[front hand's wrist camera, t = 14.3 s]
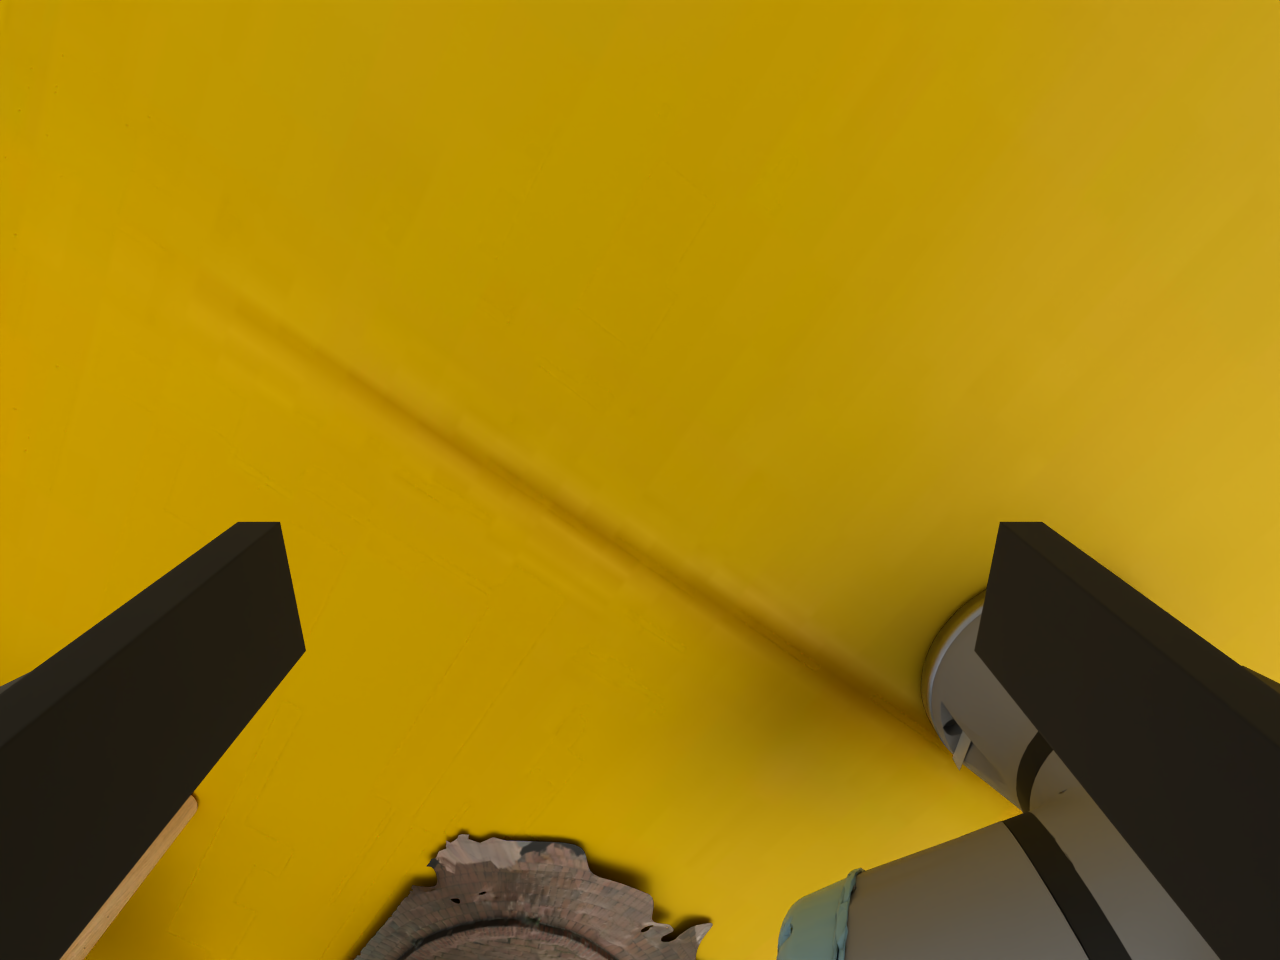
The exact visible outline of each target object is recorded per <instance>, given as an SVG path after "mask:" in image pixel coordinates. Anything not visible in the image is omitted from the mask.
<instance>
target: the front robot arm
mask: <svg viewBox="0 0 1280 960" xmlns="http://www.w3.org/2000/svg"><path fill="white" fill-rule="evenodd" d="M305 651H306V649H305V644H304V639H303V634H302V629H301V624H300V619H299V614H298V609H297V604H296V599H295V594H294V589H293V584H292V579H291V574H290V569H289V564H288V559H287V554H286V549H285V544H284V540H283V535H282V530H281V525H280V522H237V523H236V524H234V525H233V526H232V527H230V528H229V529H228V530H226V531H225V532H223V533H222V534H221V535H219V536H218V537H216V538H215V539H214V540H212V541H211V542H210V543H208V544H207V545H205V546H204V547H203V548H201V549H200V550H199V551H197V552H196V553H194V554H193V555H192V556H190V557H189V558H187V559H186V560H185V561H183V562H182V563H181V564H179V565H178V566H176V567H175V568H174V569H172V570H171V571H169V572H168V573H167V574H165V575H164V576H163V577H161V578H160V579H158V580H157V581H156V582H154V583H153V584H151V585H150V586H149V587H147V588H146V589H145V590H143V591H142V592H140V593H139V594H138V595H136V596H135V597H134V598H132V599H131V600H129V601H128V602H127V603H125V604H124V605H122V606H121V607H120V608H118V609H117V610H116V611H114V612H113V613H111V614H110V615H109V616H107V617H106V618H104V619H103V620H102V621H100V622H99V623H98V624H96V625H95V626H93V627H92V628H91V629H89V630H88V631H86V632H85V633H84V634H82V635H81V636H80V637H78V638H77V639H75V640H74V641H73V642H71V643H70V644H69V645H67V646H66V647H64V648H63V649H62V650H60V651H59V652H57V653H56V654H55V655H53V656H52V657H51V658H49V659H48V660H46V661H45V662H44V663H42V664H41V665H39V666H38V667H37V668H35V669H34V670H33V671H31V672H29V673H27V674H25V675H23V676H21V677H19V678H17V679H15V680H13V681H11V682H9V683H7V684H5V685H3V686H1V687H0V960H60V959H61V957H62V956H63V955H64V954H65V952H66V951H67V950H68V949H69V947H70V946H71V945H72V944H73V942H74V941H75V940H76V939H77V937H78V936H79V935H80V934H81V932H82V931H83V930H84V929H85V927H86V926H87V925H88V923H89V922H90V921H91V920H92V918H93V917H94V916H95V915H96V913H97V912H98V911H99V910H100V908H101V907H102V906H103V905H104V903H105V902H106V901H107V900H108V898H109V897H110V896H111V895H112V893H113V892H114V891H115V890H116V888H117V887H118V886H119V885H120V883H121V882H122V881H123V880H124V878H125V877H126V876H127V875H128V873H129V872H130V871H131V870H132V868H133V867H134V866H135V865H136V863H137V862H138V861H139V859H140V858H141V857H142V856H143V854H144V853H145V852H146V851H147V849H148V848H149V847H150V846H151V844H152V843H153V842H154V841H155V839H156V838H157V837H158V836H159V834H160V833H161V832H162V831H163V829H164V828H165V827H166V826H167V824H168V823H169V822H170V821H171V819H172V818H173V817H174V816H175V814H176V813H177V812H178V811H179V809H180V808H181V807H182V806H183V804H184V803H185V802H186V800H187V799H188V798H189V797H190V795H191V794H192V793H193V792H194V790H195V789H196V788H197V787H198V785H199V784H200V783H201V782H202V780H203V779H204V778H205V777H206V775H207V774H208V773H209V772H210V770H211V769H212V768H213V767H214V765H215V764H216V763H217V762H218V760H219V759H220V758H221V757H222V755H223V754H224V753H225V752H226V750H227V749H228V748H229V747H230V745H231V744H232V743H233V741H234V740H235V739H236V738H237V736H238V735H239V734H240V733H241V731H242V730H243V729H244V728H245V726H246V725H247V724H248V723H249V721H250V720H251V719H252V718H253V716H254V715H255V714H256V713H257V711H258V710H259V709H260V708H261V706H262V705H263V704H264V703H265V701H266V700H267V699H268V698H269V696H270V695H271V694H272V693H273V691H274V690H275V689H276V688H277V686H278V685H279V684H280V682H281V681H282V680H283V679H284V677H285V676H286V675H287V674H288V672H289V671H290V670H291V669H292V667H293V666H294V665H295V664H296V662H297V661H298V660H299V659H300V657H301V656H302V655H303V654H304V652H305ZM921 694H922V700H923V705H924V708H925V711H926V714H927V716H928V718H929V720H930V722H931V724H932V725H933V727H934V729H935V731H936V732H937V734H938V736H939V737H940V739H941V740H942V742H943V743H944V745H945V746H946V747H947V748H948V749H949V751H950V752H951V753H952V754H953V758H952V759H953V760H954V762H955V764H956V765H957V767H958V769H959V770H960V769H961V766H962V764H964V765H965V766H966V767H967V768H969V769H970V770H971V771H972V772H974V773H975V774H976V775H978V776H979V777H980V778H981V779H983V780H984V781H985V782H986V783H988V784H989V785H990V786H991V787H993V788H994V789H995V790H996V791H998V792H999V793H1000V794H1001V795H1003V796H1004V797H1005V798H1007V799H1008V800H1009V801H1010V802H1012V803H1013V804H1014V805H1015V806H1017V807H1018V808H1019V809H1020V810H1021V811H1022V812H1023V814H1020V815H1018V816H1015V817H1012V818H1009V819H1007V820H1004V821H1000V822H997V823H995V824H992V825H989V826H987V827H984V828H982V829H979V830H976V831H974V832H971V833H969V834H966V835H964V836H961V837H958V838H956V839H953V840H950V841H947V842H945V843H942V844H939V845H936V846H933V847H931V848H928V849H925V850H922V851H920V852H917V853H914V854H911V855H908V856H906V857H903V858H900V859H897V860H895V861H892V862H889V863H886V864H883V865H881V866H878V867H875V868H872V869H869V870H867V871H865V870H863V869H862V868H859V869H855V870H853V871H851V872H850V873H849V874H848V876H847V878H845V879H843V880H841V881H838V882H836V883H834V884H832V885H829V886H827V887H825V888H823V889H820V890H818V891H816V892H814V893H811V894H809V895H807V896H804V897H802V898H801V899H799V900H798V901H797V902H796V903H794V904H793V905H792V907H791V908H790V909H789V911H788V913H787V915H786V916H785V918H784V920H783V923H782V926H781V930H780V934H779V940H778V955H777V960H1280V684H1279V683H1277V682H1275V681H1273V680H1271V679H1269V678H1267V677H1265V676H1263V675H1261V674H1259V673H1257V672H1255V671H1253V670H1251V669H1249V668H1247V667H1244V666H1241V665H1239V664H1238V663H1236V662H1235V661H1234V660H1232V659H1231V658H1229V657H1228V656H1227V655H1225V654H1224V653H1223V652H1221V651H1220V650H1218V649H1217V648H1216V647H1214V646H1213V645H1211V644H1210V643H1209V642H1207V641H1206V640H1205V639H1203V638H1202V637H1200V636H1199V635H1198V634H1196V633H1195V632H1194V631H1192V630H1191V629H1189V628H1188V627H1187V626H1185V625H1184V624H1182V623H1181V622H1180V621H1178V620H1177V619H1176V618H1174V617H1173V616H1171V615H1170V614H1169V613H1167V612H1166V611H1164V610H1163V609H1162V608H1160V607H1159V606H1158V605H1156V604H1155V603H1153V602H1152V601H1151V600H1149V599H1148V598H1146V597H1145V596H1144V595H1142V594H1141V593H1140V592H1138V591H1137V590H1135V589H1134V588H1133V587H1131V586H1130V585H1129V584H1127V583H1126V582H1124V581H1123V580H1122V579H1120V578H1119V577H1117V576H1116V575H1115V574H1113V573H1112V572H1111V571H1109V570H1108V569H1106V568H1105V567H1104V566H1102V565H1101V564H1099V563H1098V562H1097V561H1095V560H1094V559H1093V558H1091V557H1090V556H1088V555H1087V554H1086V553H1084V552H1083V551H1081V550H1080V549H1079V548H1077V547H1076V546H1075V545H1073V544H1072V543H1070V542H1069V541H1068V540H1066V539H1065V538H1064V537H1062V536H1061V535H1059V534H1058V533H1057V532H1055V531H1054V530H1052V529H1051V528H1050V527H1048V526H1047V525H1046V524H1044V523H1043V522H1000V525H999V530H998V535H997V539H996V544H995V549H994V554H993V559H992V564H991V569H990V574H989V579H988V584H987V589H986V590H985V591H983V592H981V593H980V594H978V595H977V596H975V597H974V598H972V599H971V600H970V601H969V602H967V603H966V604H965V605H963V606H962V607H961V608H960V609H959V610H958V611H957V612H956V613H955V614H954V615H953V616H952V617H951V618H950V619H949V620H948V621H947V622H946V624H945V625H944V626H943V628H942V629H941V630H940V632H939V633H938V635H937V636H936V638H935V639H934V641H933V643H932V645H931V647H930V649H929V651H928V654H927V657H926V659H925V663H924V666H923V671H922V678H921Z"/></svg>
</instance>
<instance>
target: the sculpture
mask: <svg viewBox="0 0 1280 960" xmlns="http://www.w3.org/2000/svg"><path fill="white" fill-rule="evenodd" d="M468 837H469V835H465V834H461V835H458V838H457V839H456V840H454V841H453V842H451V843H450V842H448V841H446V849H444V850H441V851H439V852H438V855H437V857H436V858H434V859H431V861H430V863H429V864H428V865H427V866H430V867H432V868H433V869H434V870H435V872H436V875H437V884H436V885H435V886H433V887H422V886H414V885H412V887H411V888H412V890H413V891H410V894H409V895H408V897H405V898H404V899H403V901H402V902H401V904H400V905H398V907H397V910H396V911H394V912H393V914H392V917H390V918H388V920H387V921H386V923H385V924H384V926H382V927H381V928H380V929H379V931H377V933H376V935H375V936H373V938H371V940H370V941H369V942H368V943H367V944H366V947H364V948H363V949H362V951H361V956H360V955H358V956H357V958H355V959H354V960H696V952H697V949H698V946H699V944H700V942H701V940H702V939H703V937H704V936H705V935H706V933H707V932H708V931H709V930H710V928H711V927H712V925H713V924H712V923H706V924H701V925H696V926H693V927H691V928H689V929H687V930H686V931H685V932H683V933H682V934H680V935H679V936H678V937H677V938H676V939H675V940H673V941H670V942H662V941H661V938H662V937H663V936H664V935H667V934H669V933H671V932H672V931H673V928H672V927H671V926H670V925H668V924H660V923H655V922H654V921H653V920H652V913H653V899H652V897H651V896H650V895H649V894H647V893H644V892H642V891H639V890H637V889H634V888H632V887H629V886H627V885H624V884H621V883H618V882H615V881H611V880H608V879H604V878H601V877H598V876H596V875H595V874H593V873H592V872H591V871H590V869H589V867H588V863H587V859H586V855H585V852H584V851H583V849H582V848H580V847H578V846H576V845H574V844H568V843H559V842H536V841H505V840H502V839H498V838H494V837H493V838H490V839H488V840H486V841H483V842H481V843H479V842H476V841H473V840H470V839H468ZM481 892H486V893H485V894H483V895H479V893H481ZM454 898H458V899H459V900H460V903H459V904H458V903H454V902H453V901H451V899H454ZM650 925H654V926H653V927H650V928H649V930H648V931H646V932H641V930H642V929H643V928H644V927H647V926H650ZM666 927H668V928H666Z"/></svg>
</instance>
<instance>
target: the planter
mask: <svg viewBox="0 0 1280 960" xmlns="http://www.w3.org/2000/svg"><path fill="white" fill-rule="evenodd" d="M197 807H198V806H197V802H196V800H195V798H194V797H193V796H192V795H190V797H189V798H188V799H187V800H186V802H185V803H184V804H183V806H182V807H181V808H180V809H179V811H178V812H177V813H176V814H175V816H174V817H173V818H172V819H171V821H170V822H169V823H168V824H167V826H166V827H165V828H164V829H163V831H162V832H161V833H160V834H159V836H158V837H157V838H156V839H155V841H154V842H153V843H152V844H151V846H150V847H149V848H148V849H147V851H146V852H145V853H144V854H143V856H142V857H141V858H140V859H139V861H138V862H137V863H136V865H135V866H134V867H133V868H132V870H131V871H130V872H129V873H128V875H127V876H126V877H125V878H124V880H123V881H122V882H121V883H120V885H119V886H118V887H117V888H116V890H115V891H114V892H113V893H112V895H111V896H110V897H109V898H108V900H107V901H106V902H105V903H104V905H103V906H102V907H101V908H100V910H99V911H98V912H97V913H96V915H95V916H94V917H93V918H92V920H91V921H90V922H89V923H88V925H87V926H86V927H85V929H84V930H83V931H82V932H81V934H80V935H79V936H78V937H77V939H76V940H75V941H74V942H73V944H72V945H71V946H70V947H69V949H68V950H67V951H66V952H65V954H64V955H63V956H62V957H61V959H60V960H84V958H85V957H86V956H87V954H88V953H89V952H90V950H91V949H92V948H93V946H94V945H95V944H96V942H97V941H98V940H99V939H100V937H101V936H102V935H103V933H104V932H105V931H106V929H107V928H108V927H109V925H110V924H111V923H112V921H113V920H114V919H115V917H116V916H117V915H118V914H119V912H120V911H121V910H122V908H123V907H124V906H125V904H126V903H127V902H128V900H129V899H130V898H131V896H132V895H133V894H134V893H135V891H136V890H137V889H138V887H139V886H140V885H141V883H142V882H143V881H144V879H145V878H146V877H147V875H148V874H149V873H150V872H151V870H152V869H153V868H154V866H155V865H156V864H157V862H158V861H159V860H160V858H161V857H162V856H163V854H164V853H165V852H166V850H167V849H168V848H169V847H170V845H171V844H172V843H173V841H174V840H175V839H176V837H177V836H178V835H179V833H180V832H181V831H182V829H183V828H184V827H185V826H186V824H187V823H188V822H189V820H190V819H191V818H192V816H193V815H194V814H195V812H196V811H197Z"/></svg>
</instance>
